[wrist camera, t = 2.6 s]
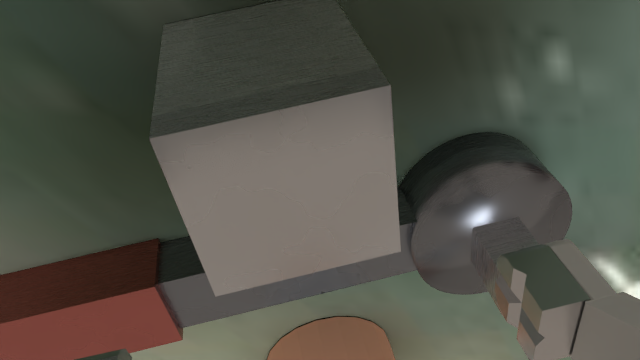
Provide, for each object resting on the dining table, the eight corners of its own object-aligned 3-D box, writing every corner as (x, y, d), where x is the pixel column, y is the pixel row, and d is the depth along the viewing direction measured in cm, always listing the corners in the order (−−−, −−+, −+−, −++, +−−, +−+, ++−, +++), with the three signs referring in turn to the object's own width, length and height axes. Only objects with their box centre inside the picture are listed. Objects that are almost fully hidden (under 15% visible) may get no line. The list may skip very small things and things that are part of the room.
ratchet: (-78, 260, 21) (-156, 398, 16) (545, 116, 23) (636, 204, 18) (11, 357, 25) (-31, 488, 21) (527, 230, 27) (597, 325, 22)
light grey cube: (163, 24, 17) (149, 138, 12) (329, -11, 17) (390, 85, 12) (209, 160, 21) (215, 296, 15) (347, 128, 21) (401, 251, 15)
